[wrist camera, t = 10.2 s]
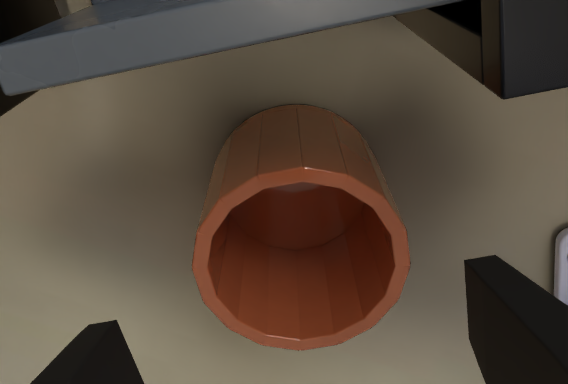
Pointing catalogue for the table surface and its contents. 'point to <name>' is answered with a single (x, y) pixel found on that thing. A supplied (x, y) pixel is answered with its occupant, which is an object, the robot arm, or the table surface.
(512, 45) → the cabinet
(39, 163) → the table surface
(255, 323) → the cup
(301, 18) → the drawer
